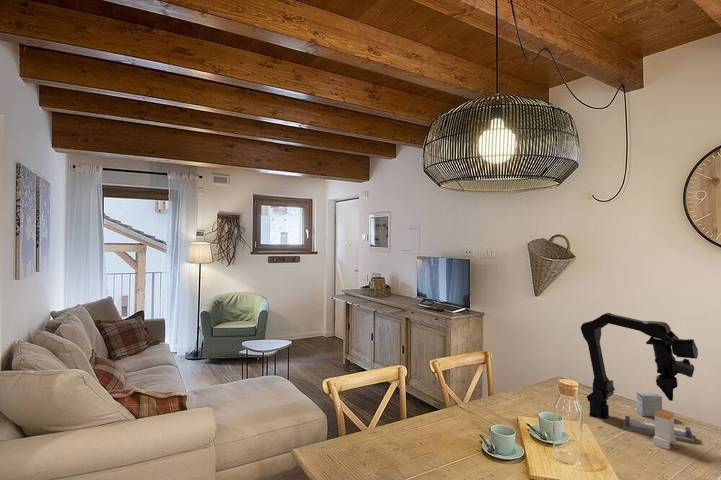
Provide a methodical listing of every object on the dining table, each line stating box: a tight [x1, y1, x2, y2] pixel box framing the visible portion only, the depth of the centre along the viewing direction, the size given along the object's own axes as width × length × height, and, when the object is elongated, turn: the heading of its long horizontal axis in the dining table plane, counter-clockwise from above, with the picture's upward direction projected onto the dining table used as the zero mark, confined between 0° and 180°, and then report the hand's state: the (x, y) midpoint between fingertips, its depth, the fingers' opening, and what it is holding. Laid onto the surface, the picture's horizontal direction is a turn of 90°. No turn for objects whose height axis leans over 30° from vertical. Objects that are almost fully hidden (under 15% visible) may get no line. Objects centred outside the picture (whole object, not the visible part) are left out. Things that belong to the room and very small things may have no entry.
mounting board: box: [622, 415, 695, 444], centre depth 160 cm, size 22×8×3 cm, turn 56°
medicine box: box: [636, 392, 663, 417], centre depth 176 cm, size 8×4×9 cm, turn 84°
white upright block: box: [652, 408, 677, 450], centre depth 150 cm, size 4×8×12 cm, turn 126°
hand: (671, 395), depth 158 cm, fingers open, 9 cm apart
